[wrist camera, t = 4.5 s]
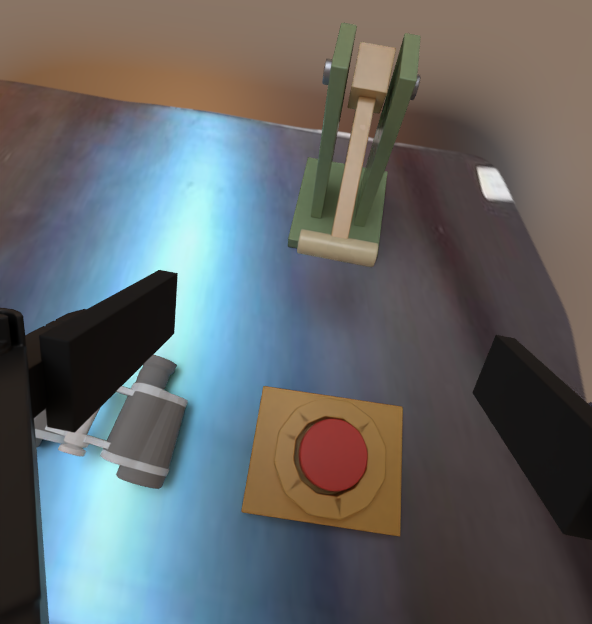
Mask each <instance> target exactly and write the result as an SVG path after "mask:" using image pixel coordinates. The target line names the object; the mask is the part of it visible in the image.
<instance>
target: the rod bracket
mask: <svg viewBox="0 0 592 624" xmlns="http://www.w3.org/2000/svg"><path fill="white" fill-rule="evenodd" d="M356 28H357V26H356V25H353V24H347V23H341V26H340V31H339V35H338V39H337V43H336V47H335V51H334V55H333V59H326V63H325V67H324V74H323V84H325V85H328V92H327V99H326V107H325V114H324V121H323V128H322V135H321V143H320V150H319V157H318V159H314V158H309V157H308V159H307V164H306V168H305V172H304V176H303V180H302V184H301V188H300V192H299V197H298V201H297V205H296V209H295V213H294V217H293V221H292V225H291V230H290V234H289V238H288V247H294V248H298V241H299V236H300V232H301V230H302V229H304V230H310V231H315V232H320V233H325V234H331V232H332V227H333V222H334V217H335V212H336V207H337V202H338V197H339V191H340V186H341V181H342V176H343V171H344V166H345V164H342V163H336V162H332V161H333V155H334V150H335V144H336V139H337V133H338V127H339V122H340V117H341V111H342V106H343V100H344V94H345V89H346V83H347V78H348V73H349V67H350V62H351V56H352V51H353V45H354V40H355V34H356ZM419 49H420V36H418V35H412V34H405V35H404V38H403V41H402V45H401V48H400V52H399V55H398V59H397V62H396V65H395V69H394V72H393V76H392V79H391V82H390V86H389V89H388V93H387V96H386V100H385V103H384V106H383V110H382V113H381V117H380V120H379V123H378V127H377V130H376V134H375V137H374V140H373V144H372V147H371V150H370V154H369V157H368V161H367V164H366V168H363V167H362V171H361V176H360V182H359V187H358V192H357V197H356V202H355V207H354V212H353V217H352V222H351V227H350V232H349V237H348V238H352V239H357V240H362V241H368V242H373V243H377V244H378V248H379V239H380V231H381V222H382V214H383V205H384V197H385V189H386V180H387V172H385V168H386V165H387V162H388V160H389V157H390V154H391V151H392V149H393V146H394V143H395V140H396V137H397V134H398V132H399V129H400V126H401V124H402V120H403V118H404V115H405V112H406V110H407V106H408V104H409V101H410V100H413V99H414V98H415V96H416V93H417V90H418V87H419V83H420V75H419V74H417V72H418V60H419ZM377 256H378V253H377ZM376 258H377V257H376Z"/></svg>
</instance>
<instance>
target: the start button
mask: <svg viewBox="0 0 592 624" xmlns="http://www.w3.org/2000/svg"><path fill="white" fill-rule="evenodd" d="M367 460H368V453H367V447H366V444H365V441H364V439H363V437H362V435H361V434H360V432H359V431H358V430H357V429H356V428H355V427H354V426H352V425H351V424H350V423H348V422H346V421H343V420H340V419H325V420H322V421H319V422H317V423H316V424H314V425H313V426H312V427H311V428H310V429H309V430H308V431H307V432H306V434H305V435H304V437H303V438H302V441H301V443H300V447H299V463H300V466H301V469H302V471H303V473H304V475H305V476H306V478H307V479H308V480H309V481H310V482H311V483H312V484H314V485H315V486H317V487H319V488H321V489H324V490H328V491H343V490H346V489H349V488H350V487H352V486H354V485H355V484H356V483H357V482H358V481H359V480H360V479H361V477H362V476H363V474H364V472H365V469H366V466H367Z"/></svg>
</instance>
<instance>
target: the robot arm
mask: <svg viewBox="0 0 592 624" xmlns="http://www.w3.org/2000/svg"><path fill="white" fill-rule="evenodd" d="M177 274H178V273H173V272H168V271H163V270H158V271H156V272H155V273H153V274H151V275H149V276H147V277H145V278H144V279H142V280H140V281H138V282H136V283H134V284H133V285H131V286H129V287H127V288H125V289H123V290H122V291H120V292H118V293H116V294H114V295H112V296H111V297H109V298H107V299H105V300H103V301H101V302H99V303H98V304H96V305H94V306H92V307H90V308H88V309H87V310H86V309H83V310H79V311H75V312H71V313H68V314H66V315H64V316H62V317H60V318H58V319H56V321H52V322H50V323H48V324H46V326H43V327H41V328H39V329H37V330H35V331H33V332H31V333H29V334H27V335H25V330H24V321H23V315H22V314H21V312H18V311H16V310H13V309H7V308H0V624H49V616H48V602H47V588H46V574H45V561H44V547H43V533H42V519H41V505H40V491H39V477H38V463H37V449H36V435H35V424H34V418H35V417H36V416H38V415H39V414H40V413H41V412H42V411H44V410H45V409H46V418H47V427H49V428H54V429H59V430H64V431H69V432H74V433H75V432H76V431H77V430H78V429H79V428H80V427H81V426H82V425H83V424H84V423H85V422H86V421H87V420H88V419H89V418H90V417H91V416H92V415H93V414H94V413H95V412H96V411H97V410H98V409H99V408H100V407H101V406H102V405H103V404H104V403H105V402H106V401H107V400H108V399H109V398H110V397H111V396H112V395H113V394H114V393H115V392H116V391H117V390H118V389H119V388H120V387H121V386H122V385H123V384H124V383H125V382H126V381H127V380H128V379H129V378H130V377H131V376H132V375H133V374H134V373H135V372H136V371H137V370H138V369H139V368H140V367H141V366H142V365H143V364H144V363H145V362H146V361H147V360H148V359H149V358H150V357H151V356H152V355H153V354H154V353H155V352H156V351H157V350H158V349H159V348H160V347H161V346H162V345H163V344H164V343H165V342H166V341H167V340H168V339H169V338H170V337H171V336H172V335H173V334H174V327H175V309H176V291H177ZM473 394H474V396H475V397H476V399H477V401H478V402H479V404H480V405H481V407H482V408H483V410H484V411H485V413H486V415H487V416H488V418H489V419H490V421H491V422H492V424H493V425H494V427H495V429H496V430H497V432H498V433H499V435H500V436H501V438H502V439H503V441H504V443H505V444H506V446H507V447H508V449H509V450H510V452H511V453H512V455H513V457H514V458H515V460H516V461H517V463H518V464H519V466H520V467H521V469H522V471H523V472H524V474H525V475H526V477H527V478H528V480H529V481H530V483H531V485H532V486H533V488H534V489H535V491H536V492H537V494H538V495H539V497H540V499H541V500H542V502H543V503H544V505H545V506H546V508H547V509H548V511H549V513H550V514H551V516H552V517H553V519H554V520H555V522H556V523H557V525H558V527H559V528H560V530H561V531H562V533H563V534H566V535H571V536H575V537H580V538H585V539H590V540H592V407H591V406H590V405H588V404H587V403H586V402H585V401H584V400H583V399H582V398H581V397H580V396H578V395H577V394H576V393H575V392H574V391H573V390H572V389H571V388H569V387H568V386H567V385H566V384H565V383H564V382H563V381H562V380H561V379H559V378H558V377H557V376H556V375H555V374H554V373H553V372H552V371H550V370H549V369H548V368H547V367H546V366H545V365H544V364H543V363H542V362H540V361H539V360H538V359H537V358H536V357H535V356H534V355H533V354H532V353H530V352H529V351H528V350H527V349H526V348H525V347H524V346H523V345H521V344H520V343H519V342H518V341H517V340H516V339H514V338H509V337H504V336H499V335H496V336H495V338H494V341H493V343H492V346H491V348H490V351H489V353H488V356H487V358H486V361H485V363H484V365H483V368H482V370H481V373H480V375H479V378H478V380H477V383H476V385H475V388H474V390H473Z"/></svg>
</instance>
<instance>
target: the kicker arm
mask: <svg viewBox="0 0 592 624" xmlns="http://www.w3.org/2000/svg"><path fill="white" fill-rule="evenodd" d="M395 50H396V48H393V47H387V46H381V45H375V44H369V43H364V42H361V43H360V47H359V52H358V57H357V62H356V67H355V72H354V77H353V83H352V87H351V92H350V97H349V103H348V108H351V109H356V110H355V115H354V121H353V126H352V131H351V136H350V141H349V146H348V151H347V156H346V161H345V166H344V171H343V176H342V181H341V186H340V191H339V197H338V202H337V207H336V212H335V217H334V222H333V227H332V232H331V234H325V233H320V232H315V231H310V230H304V229H302V230H301V232H300V236H299V241H298V248H297V253H300V254H305V255H310V256H315V257H320V258H326V259H331V260H336V261H341V262H347V263H352V264H357V265H362V266H367V267H373V266H374V264H375V261H376V257H377V253H378V244H377V243H373V242H368V241H362V240H357V239H352V238H348V237H349V232H350V227H351V222H352V217H353V212H354V207H355V202H356V197H357V192H358V187H359V182H360V176H361V171H362V166H363V161H364V156H365V151H366V146H367V141H368V136H369V131H370V125H371V121H372V116H373V113H380V111H381V108H382V105H383V103H384V100H385V97H386V95H387V91H388V86H389V81H390V76H391V71H392V65H393V60H394V56H395Z"/></svg>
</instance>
